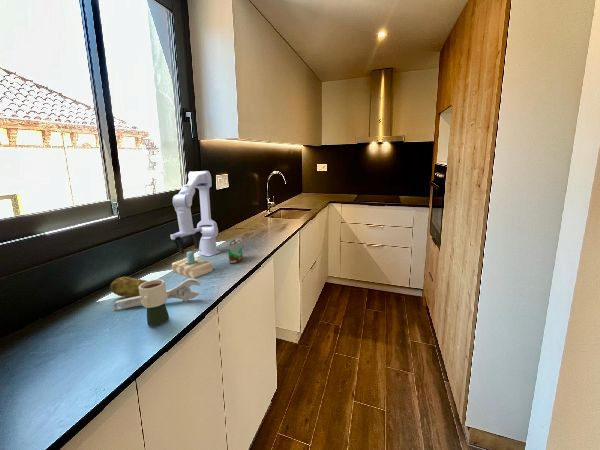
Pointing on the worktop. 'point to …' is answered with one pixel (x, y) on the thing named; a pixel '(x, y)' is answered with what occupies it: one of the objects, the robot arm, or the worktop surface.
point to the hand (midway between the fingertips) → (189, 250)
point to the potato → (126, 286)
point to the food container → (235, 251)
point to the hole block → (192, 267)
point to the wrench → (177, 292)
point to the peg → (190, 258)
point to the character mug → (154, 301)
